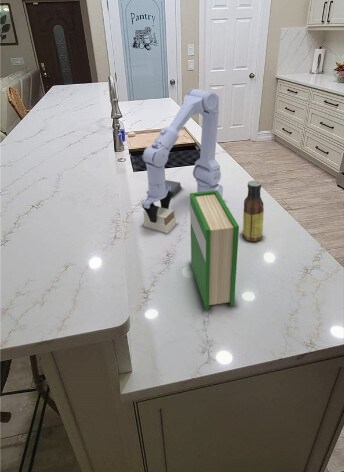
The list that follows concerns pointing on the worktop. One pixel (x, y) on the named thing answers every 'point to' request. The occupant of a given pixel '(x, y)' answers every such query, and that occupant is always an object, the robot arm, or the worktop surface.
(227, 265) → the hardback book
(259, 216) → the sauce bottle
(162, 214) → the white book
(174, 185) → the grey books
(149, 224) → the cream rectangular block
